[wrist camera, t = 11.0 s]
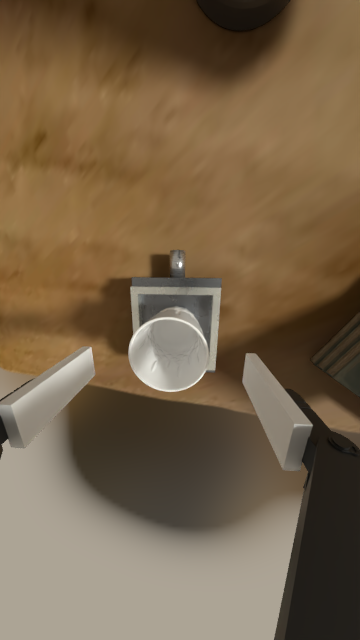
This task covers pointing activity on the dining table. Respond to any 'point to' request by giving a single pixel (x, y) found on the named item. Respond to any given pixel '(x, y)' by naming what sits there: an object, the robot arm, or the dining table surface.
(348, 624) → the robot arm
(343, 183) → the dining table surface
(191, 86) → the dining table surface
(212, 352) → the grey open box
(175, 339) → the white cup
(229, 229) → the dining table surface
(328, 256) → the dining table surface
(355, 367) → the book stack
